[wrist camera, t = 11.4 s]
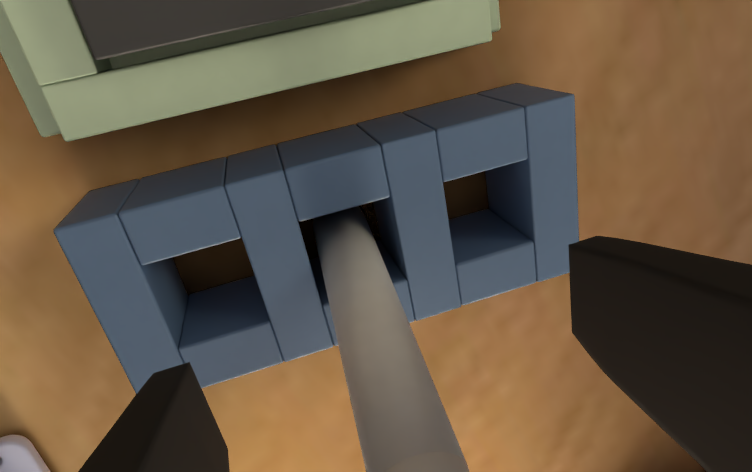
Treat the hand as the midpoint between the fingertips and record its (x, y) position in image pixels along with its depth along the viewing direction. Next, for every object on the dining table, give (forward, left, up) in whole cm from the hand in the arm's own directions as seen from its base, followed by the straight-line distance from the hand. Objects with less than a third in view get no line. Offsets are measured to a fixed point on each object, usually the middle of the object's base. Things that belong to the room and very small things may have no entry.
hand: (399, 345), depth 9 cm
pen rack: (0, 0, -7) cm, 7 cm away
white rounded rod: (0, 0, -7) cm, 7 cm away
